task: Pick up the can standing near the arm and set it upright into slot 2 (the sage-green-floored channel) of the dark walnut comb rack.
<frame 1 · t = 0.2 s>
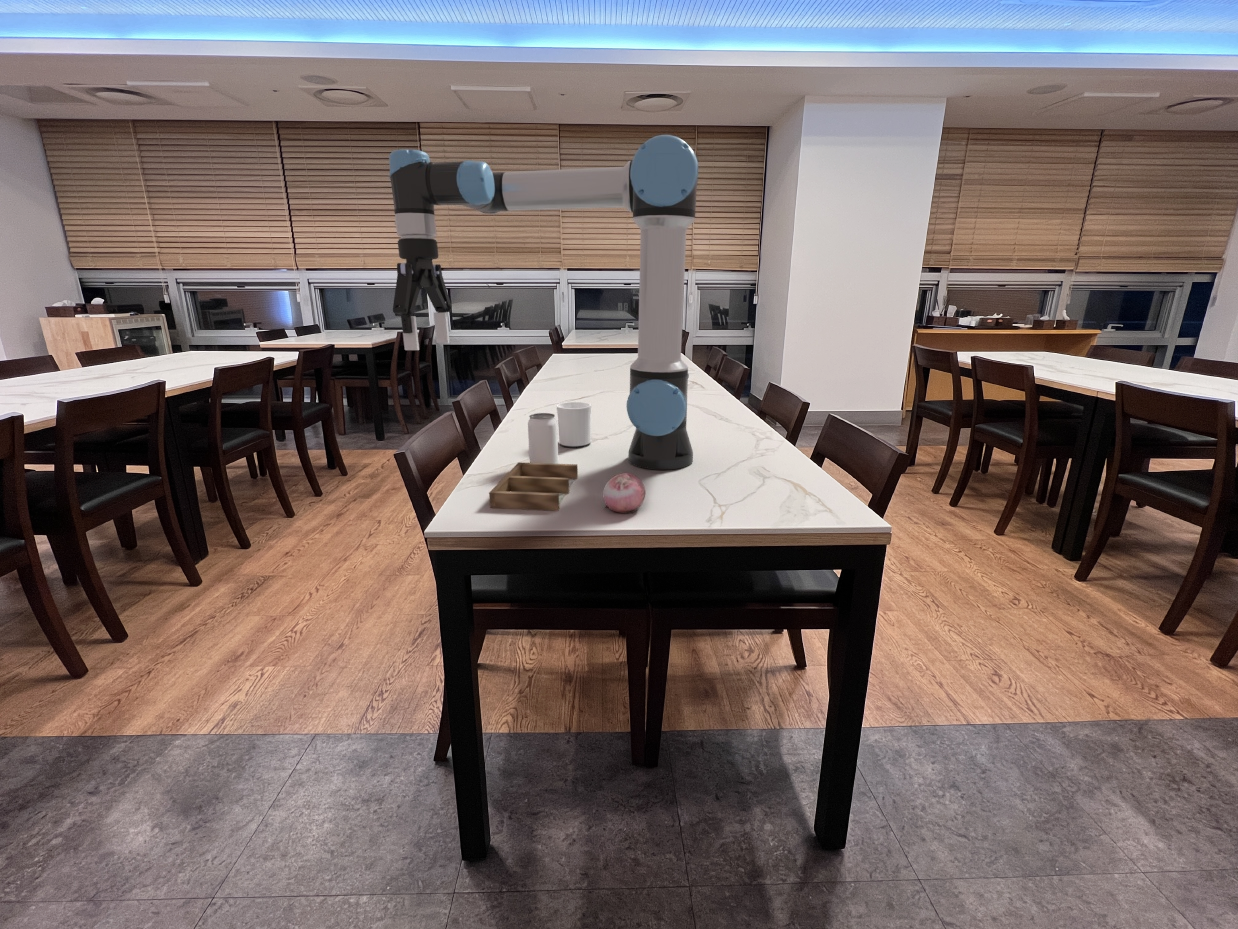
hand: (428, 346, 123), 27 cm above the table, fingers open, 13 cm apart
comb rack: (539, 491, 118), on the table
can: (544, 468, 133), on the table
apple: (624, 509, 109), on the table
mug: (575, 443, 153), on the table
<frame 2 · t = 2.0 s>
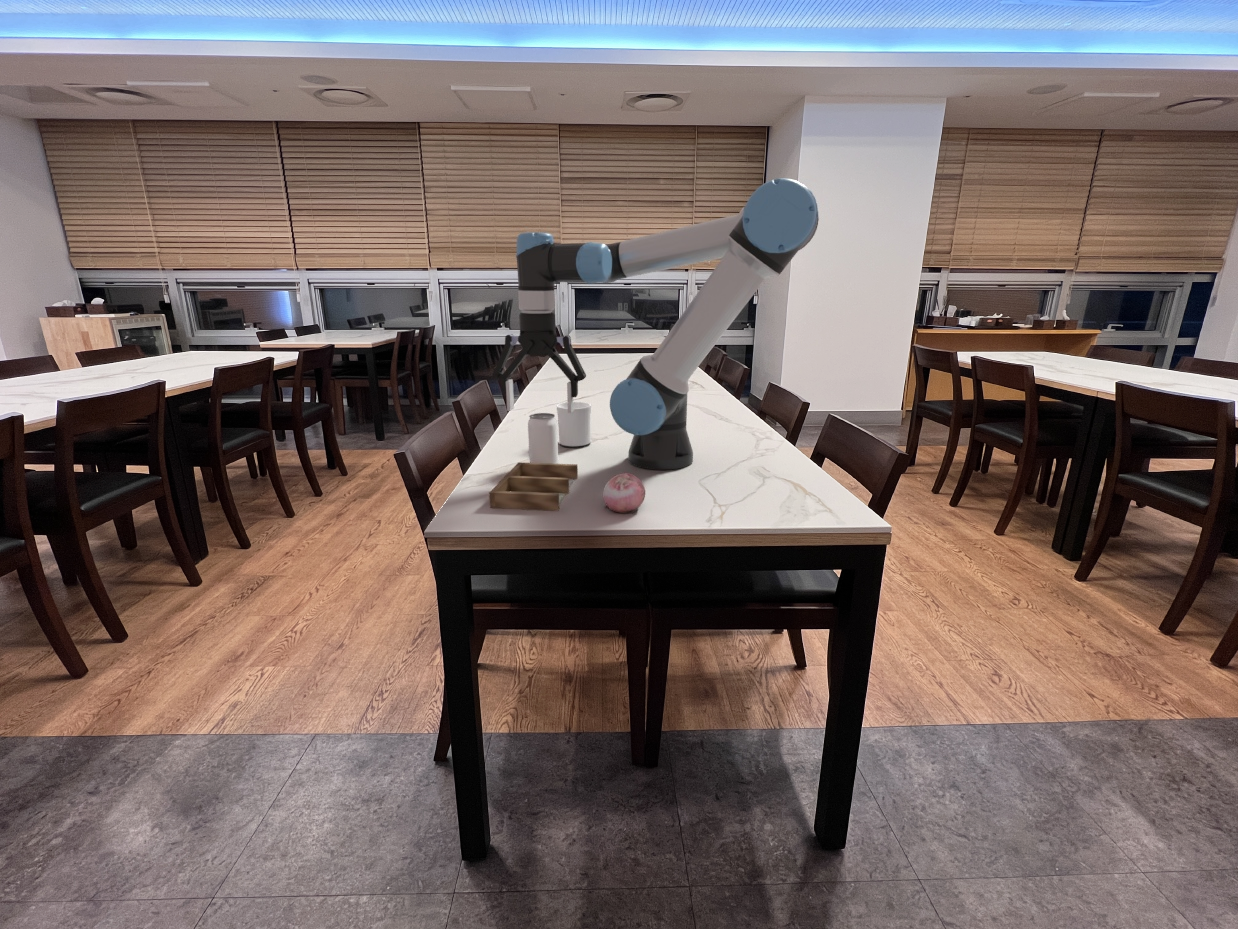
hand: (540, 410, 130), 13 cm above the table, fingers open, 13 cm apart
nothing on the table moved.
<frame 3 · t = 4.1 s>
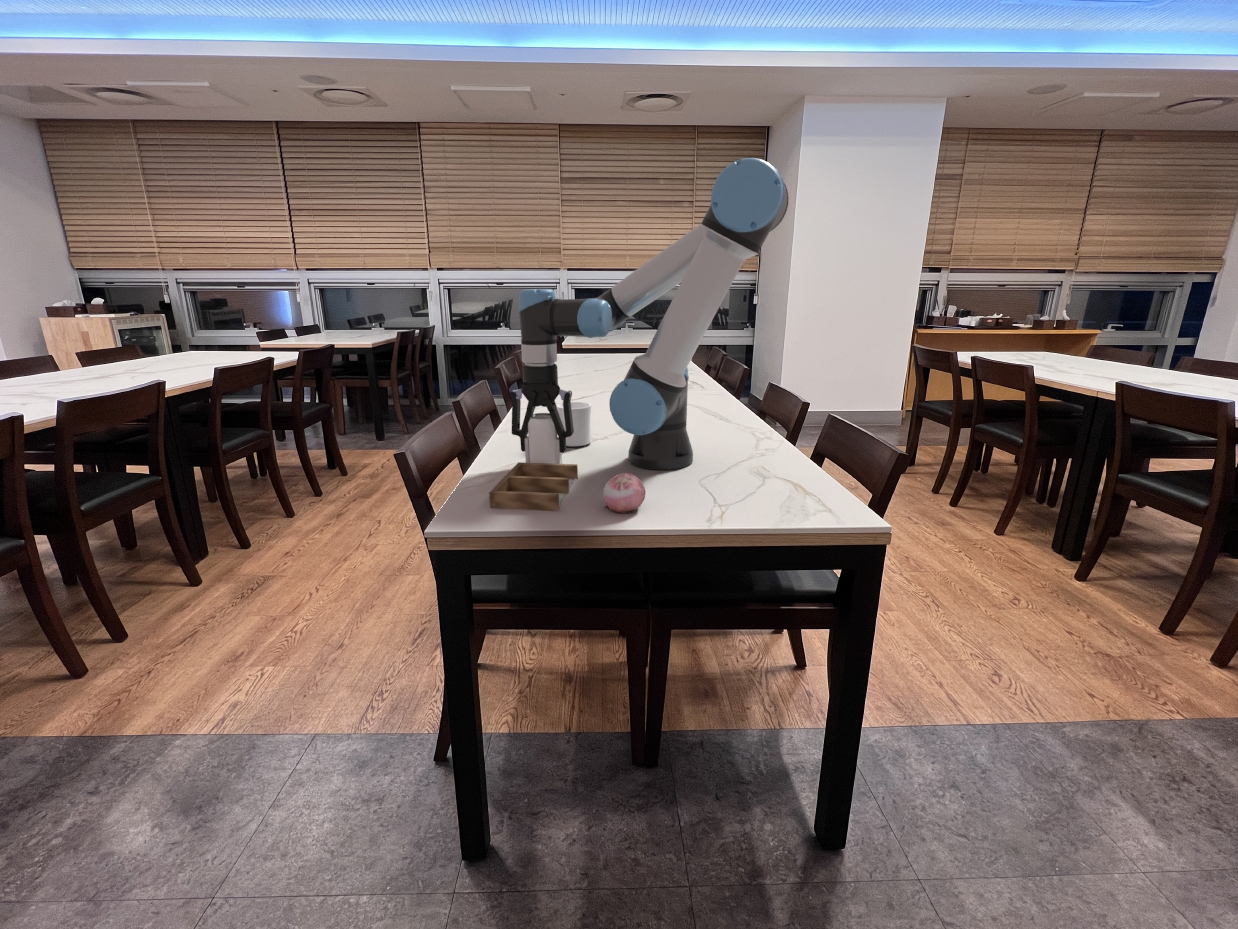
hand: (544, 465, 133), 0 cm above the table, fingers closed on can, 6 cm apart
can: (544, 467, 133), on the table, touching gripper
everything else where it was.
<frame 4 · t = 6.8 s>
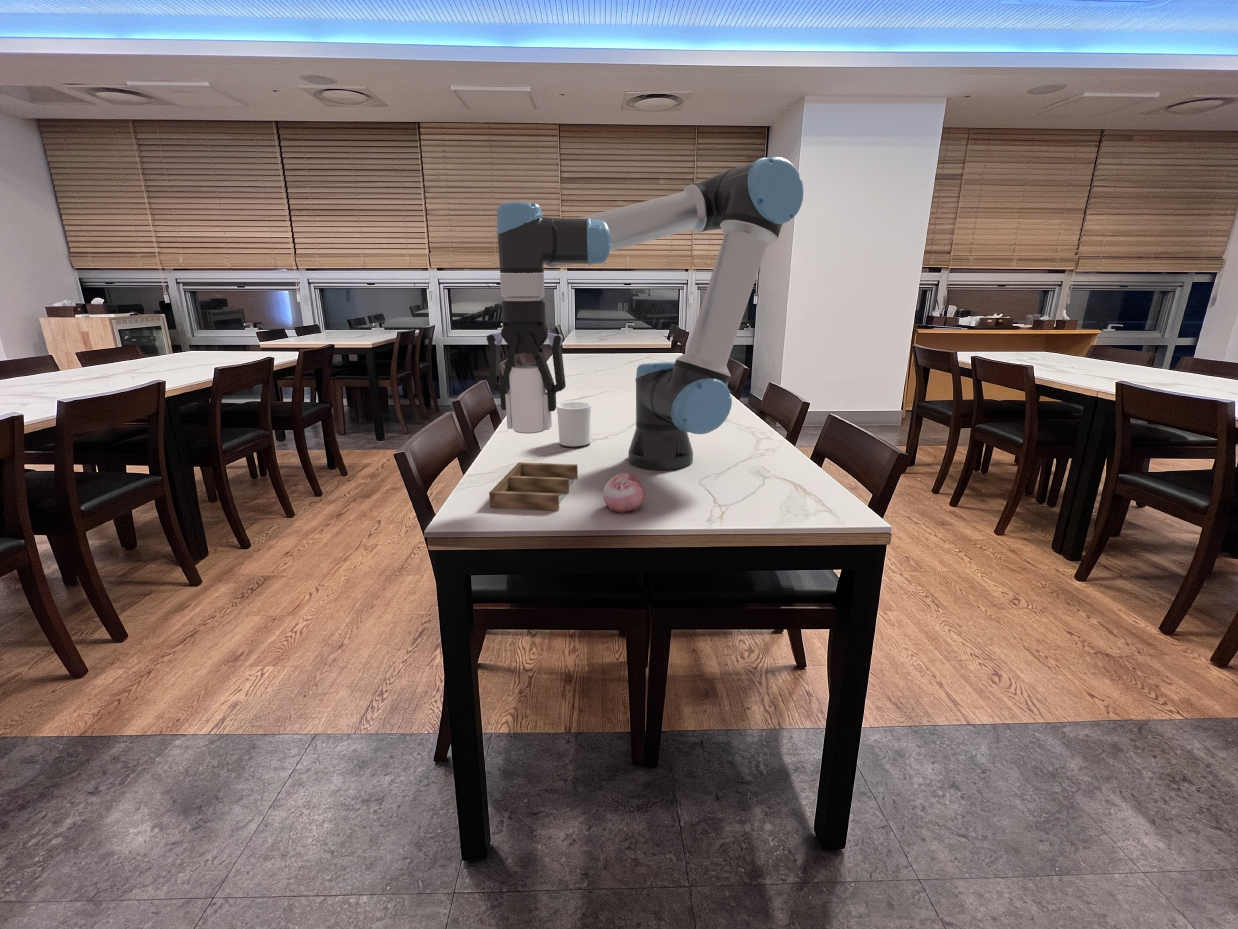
hand: (529, 427, 109), 14 cm above the table, fingers closed on can, 6 cm apart
can: (529, 430, 110), point 14 cm above the table, touching gripper
everything else where it was.
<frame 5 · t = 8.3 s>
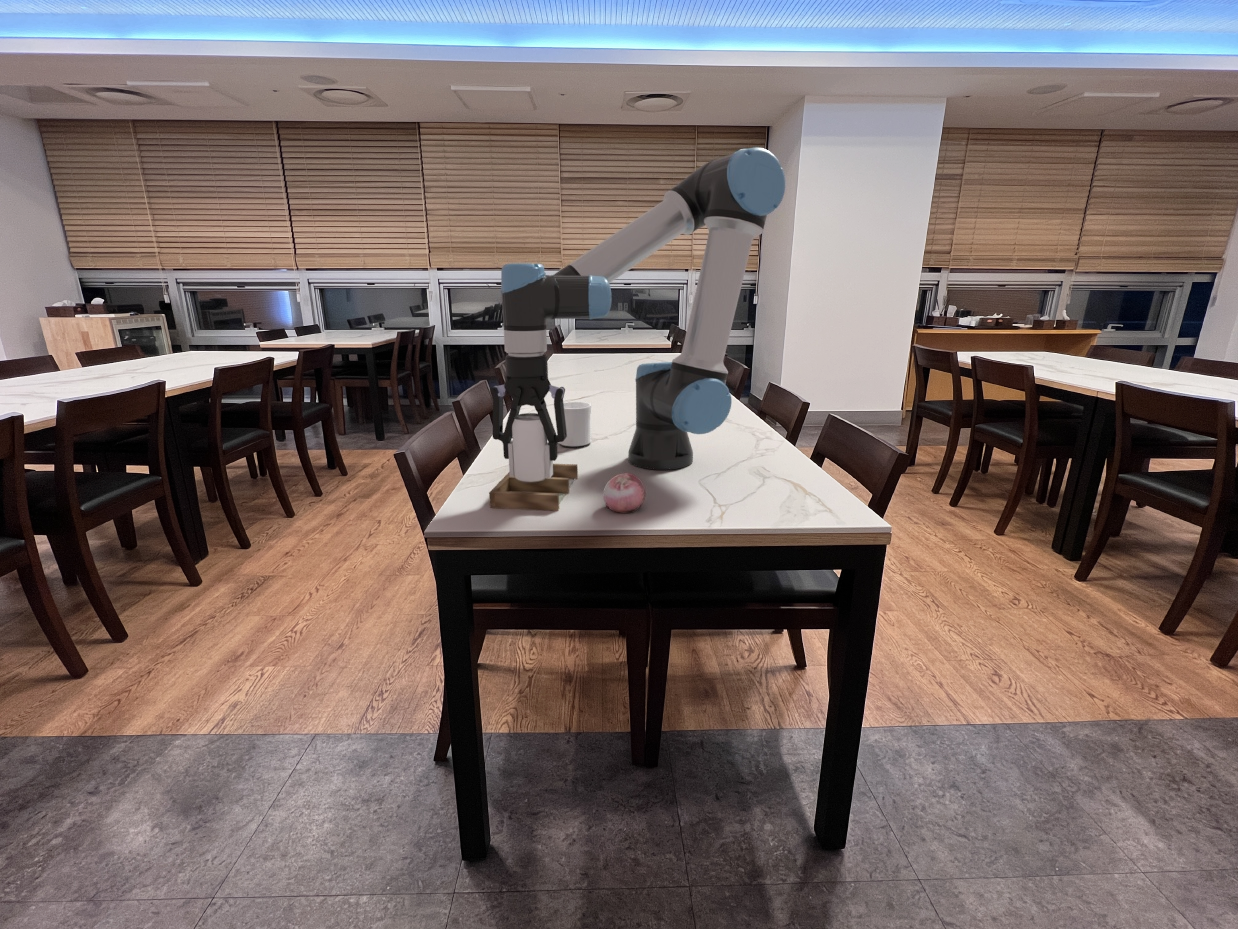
hand: (531, 475, 112), 5 cm above the table, fingers closed on can, 6 cm apart
can: (531, 478, 112), point 4 cm above the table, touching gripper
everything else where it was.
when the fingers open (2 cm above the table, at t = 9.6 s): can drops 2 cm, resting on comb rack.
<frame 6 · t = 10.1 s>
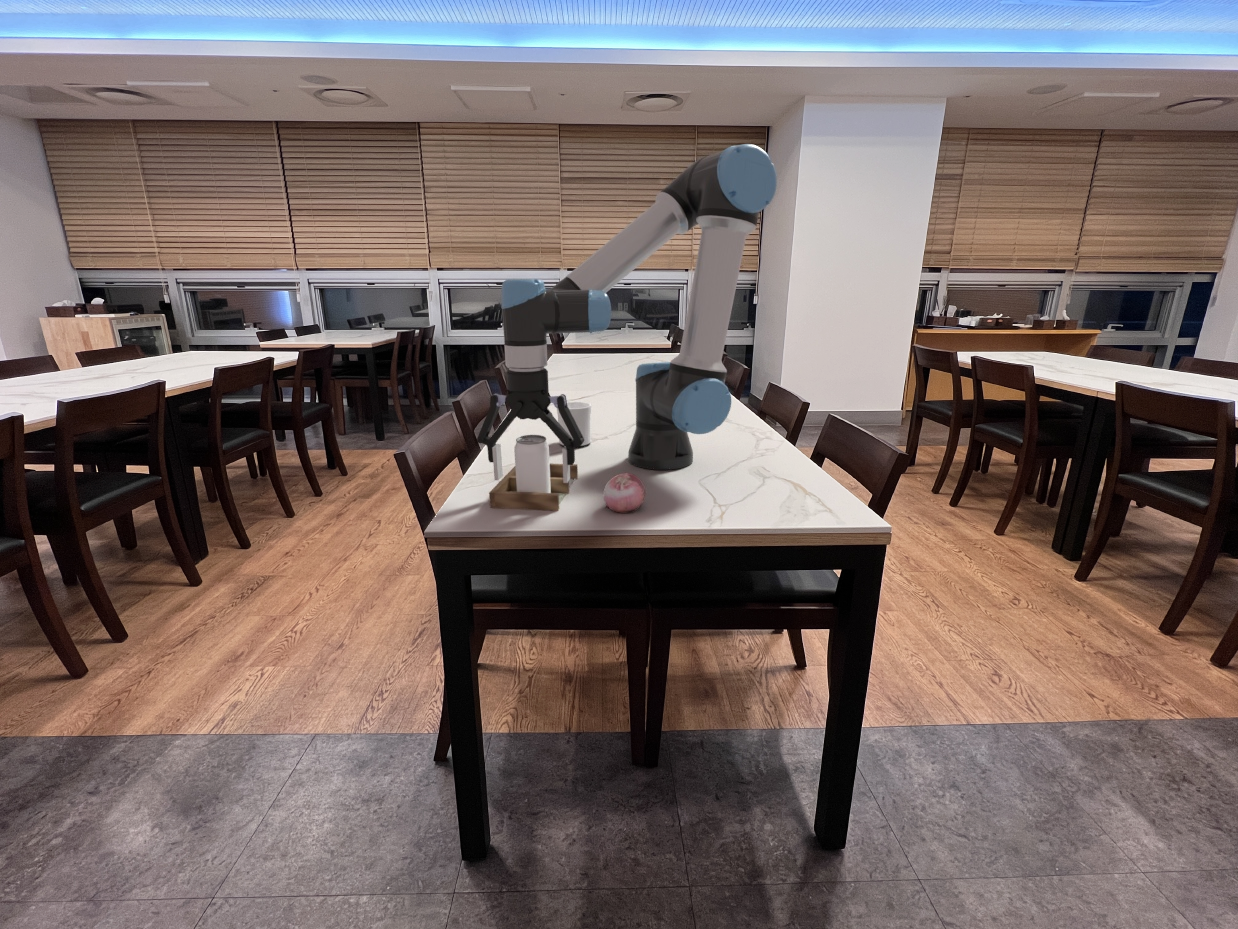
hand: (532, 479, 112), 4 cm above the table, fingers open, 13 cm apart
can: (534, 499, 114), resting on comb rack
everything else where it was.
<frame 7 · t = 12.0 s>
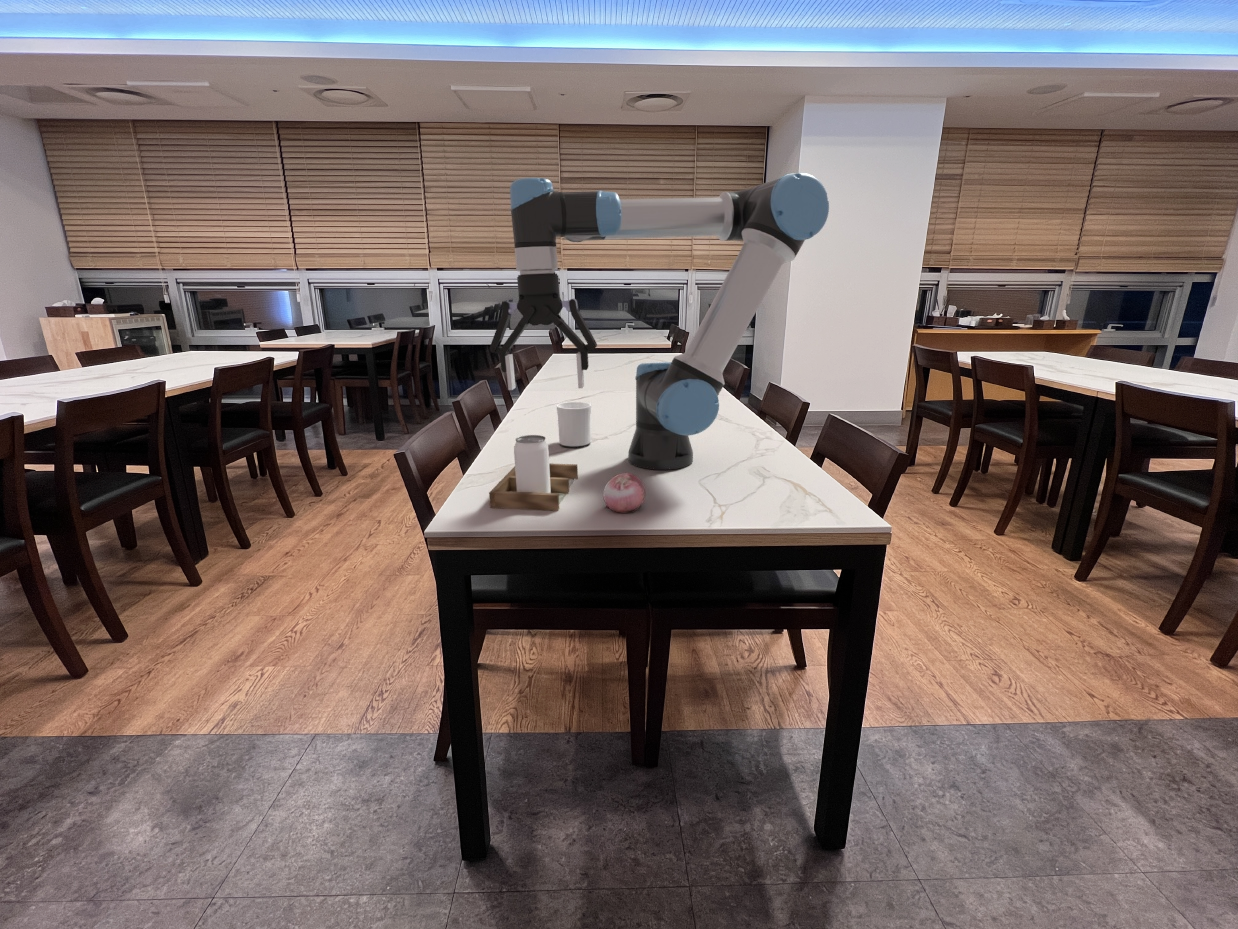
hand: (546, 388, 113), 21 cm above the table, fingers open, 13 cm apart
nothing on the table moved.
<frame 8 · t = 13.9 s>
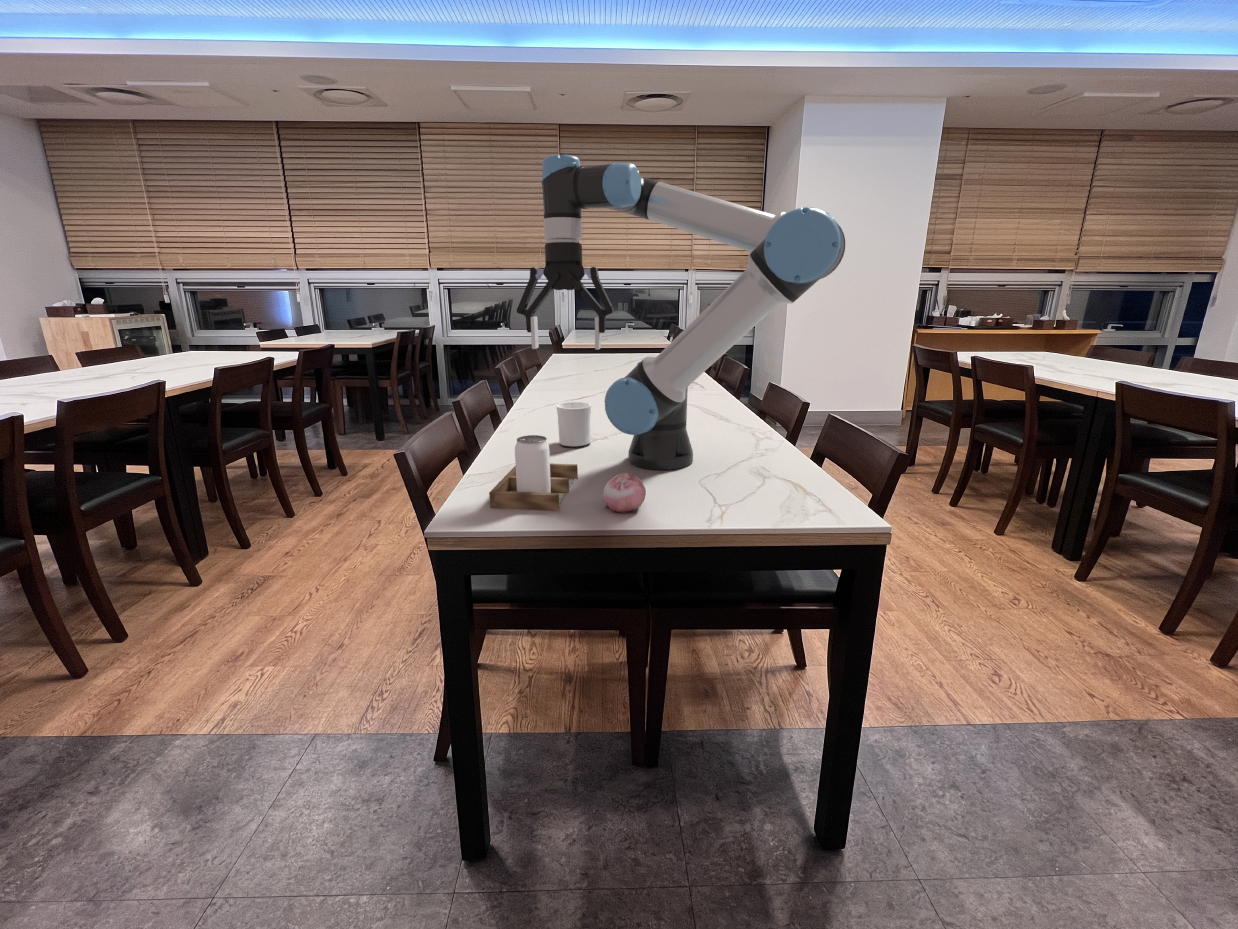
hand: (566, 348, 125), 27 cm above the table, fingers open, 13 cm apart
nothing on the table moved.
at the end: can inside the target area (0.2 cm from its centre), resting on comb rack; can tilted 0°; the gripper is holding nothing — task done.
